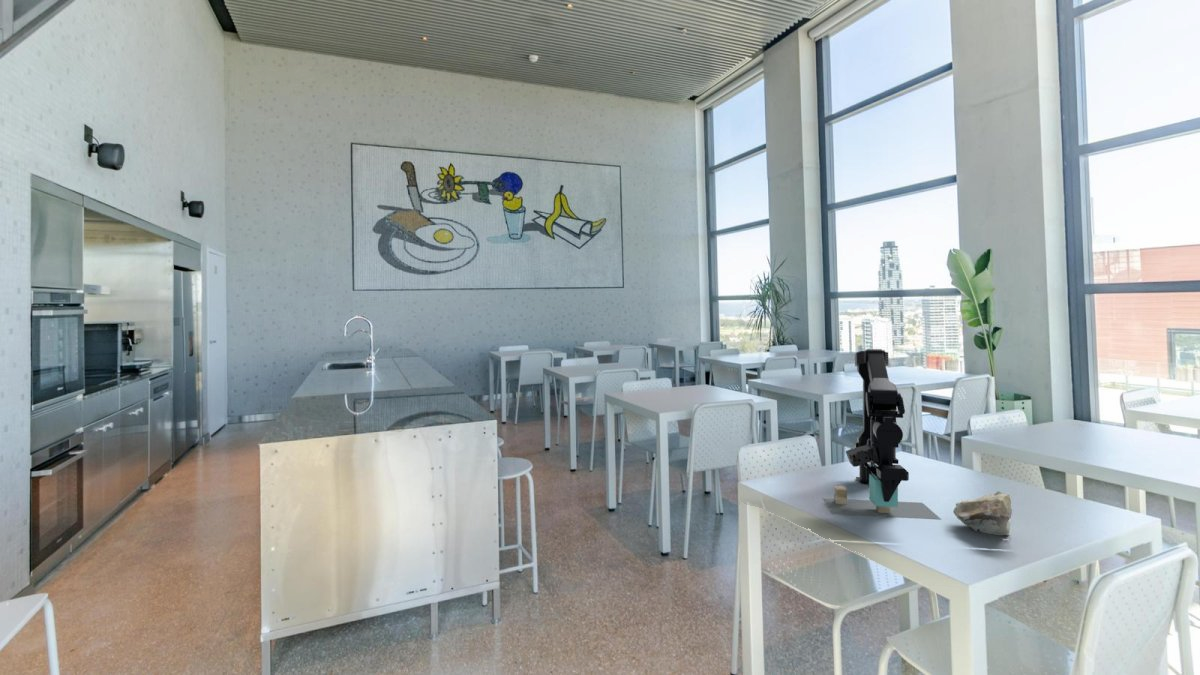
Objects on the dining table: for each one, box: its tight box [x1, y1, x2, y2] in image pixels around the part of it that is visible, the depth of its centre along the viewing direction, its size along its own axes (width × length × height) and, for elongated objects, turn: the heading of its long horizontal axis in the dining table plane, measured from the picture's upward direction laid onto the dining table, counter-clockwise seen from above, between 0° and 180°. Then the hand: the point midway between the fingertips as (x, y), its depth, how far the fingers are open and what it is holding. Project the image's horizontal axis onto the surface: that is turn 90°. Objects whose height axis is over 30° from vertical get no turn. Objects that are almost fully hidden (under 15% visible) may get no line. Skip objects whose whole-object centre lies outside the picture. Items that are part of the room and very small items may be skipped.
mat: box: [821, 498, 942, 521], centre depth 140 cm, size 12×25×1 cm, turn 79°
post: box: [876, 506, 890, 513], centre depth 138 cm, size 3×3×6 cm
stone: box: [953, 491, 1013, 537], centre depth 125 cm, size 11×14×10 cm
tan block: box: [833, 485, 848, 505], centre depth 145 cm, size 3×3×4 cm
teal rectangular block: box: [868, 474, 899, 507], centre depth 138 cm, size 5×5×7 cm
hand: (882, 497), depth 138 cm, fingers closed on teal rectangular block, 5 cm apart
